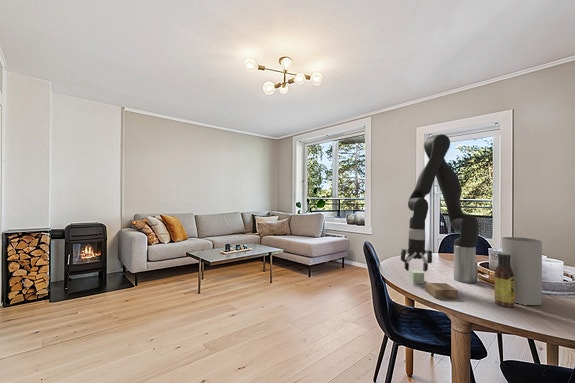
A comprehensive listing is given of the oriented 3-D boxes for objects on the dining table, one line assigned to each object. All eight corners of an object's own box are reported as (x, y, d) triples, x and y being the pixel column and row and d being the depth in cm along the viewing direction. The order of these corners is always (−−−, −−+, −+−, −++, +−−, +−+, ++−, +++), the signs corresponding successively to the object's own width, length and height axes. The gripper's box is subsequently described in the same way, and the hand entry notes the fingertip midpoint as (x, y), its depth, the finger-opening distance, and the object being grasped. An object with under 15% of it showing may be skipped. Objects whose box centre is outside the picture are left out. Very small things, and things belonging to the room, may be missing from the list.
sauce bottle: (515, 309, 105) (516, 256, 106) (495, 305, 109) (495, 254, 109) (513, 303, 111) (513, 253, 111) (493, 300, 114) (493, 251, 114)
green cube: (419, 280, 141) (419, 270, 141) (424, 283, 136) (424, 273, 136) (409, 280, 141) (409, 270, 141) (413, 283, 136) (413, 272, 136)
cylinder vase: (501, 293, 123) (501, 236, 123) (539, 299, 116) (539, 239, 116) (502, 301, 113) (502, 239, 113) (544, 309, 106) (544, 243, 106)
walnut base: (445, 292, 124) (445, 283, 124) (457, 299, 115) (457, 290, 115) (425, 291, 125) (425, 282, 125) (435, 299, 116) (435, 289, 116)
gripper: (428, 237, 142) (427, 269, 141) (399, 236, 142) (398, 268, 142) (435, 239, 134) (434, 273, 134) (404, 238, 135) (403, 272, 135)
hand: (415, 270), depth 138 cm, fingers open, 8 cm apart
